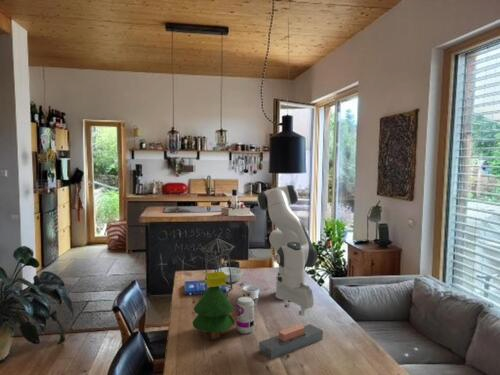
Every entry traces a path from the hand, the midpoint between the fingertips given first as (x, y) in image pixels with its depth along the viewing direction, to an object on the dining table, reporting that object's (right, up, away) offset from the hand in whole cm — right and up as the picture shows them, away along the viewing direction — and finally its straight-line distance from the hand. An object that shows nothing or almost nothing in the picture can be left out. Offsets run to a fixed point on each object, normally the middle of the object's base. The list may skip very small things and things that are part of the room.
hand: (294, 311), depth 161 cm
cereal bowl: (-33, -8, +84) cm, 90 cm away
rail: (-1, -15, +1) cm, 15 cm away
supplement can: (-22, -14, +15) cm, 30 cm away
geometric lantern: (-38, -11, +55) cm, 68 cm away
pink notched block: (-1, -15, +1) cm, 15 cm away
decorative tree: (-36, -14, +9) cm, 40 cm away
